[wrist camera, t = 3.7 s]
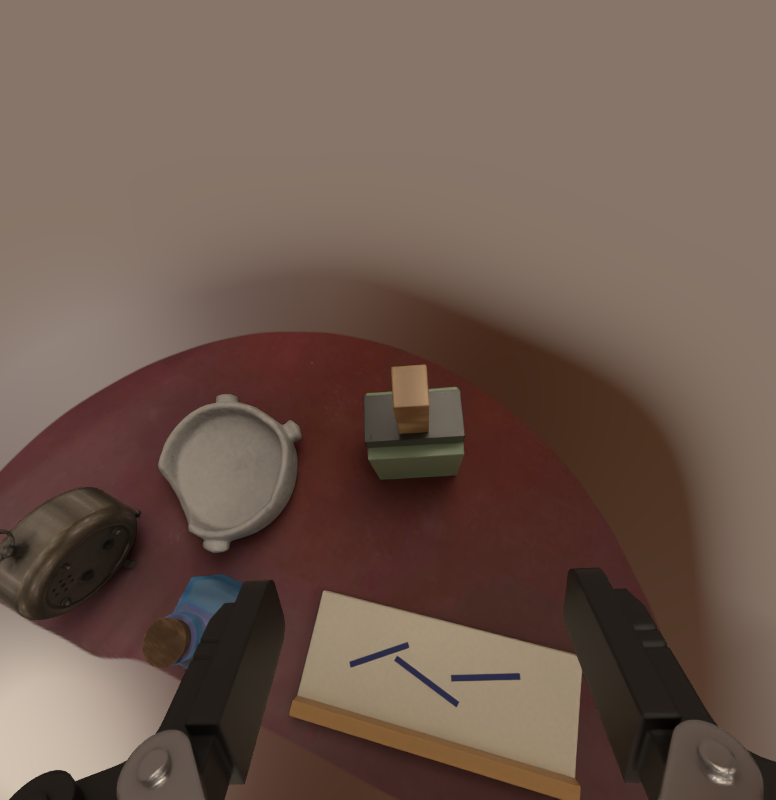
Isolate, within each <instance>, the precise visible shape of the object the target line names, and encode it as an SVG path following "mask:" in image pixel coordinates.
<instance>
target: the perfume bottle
mask: <svg viewBox="0 0 776 800" xmlns="http://www.w3.org/2000/svg"><path fill="white" fill-rule="evenodd" d="M242 585H243V583H240V582H238V581H236V580H234V579H232V578H230V577H228V576H226V575H224V574H220V575H209V576H198V577H192V578H191V580H190V582H189V583H188V585H187V587H186V589H185V591H184V593H183V594H182V596H181V598H180V600H179V602H178V604H177V606H176V608H175V610H174V612H173V614H171V615H169V616H167V617H165V618H163V619H160V620H158V621H156V622H155V623H154V624H153V625H151V626H150V628H149V629H148V631H147V632H146V635H145V637H144V640H143V653H144V657H145V658H146V660H147V662H148V663H149V664H151V665H152V666H154V667H157V668H165V667H168V666H175V665H180V666H182V667H183V668H185V669H187V668H188V666H189V663H190V661H191V660H193V655H194V652H195V650H196V648H197V646H198V644H200V641H201V640H200V639H201V637H202V635H203V633H204V631H205V628H206V626H207V624H208V622H209V620H210V619H211V618H212V617H213V615H214V614H215V613H216V612H217V611H218V610H219V609H220V607H221V606H222V605H223V604H224V603H235V601H236V598H237V596H238V593H239V591H240V589H241V586H242Z"/></svg>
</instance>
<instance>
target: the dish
mask: <svg viewBox="0 0 776 800" xmlns="http://www.w3.org/2000/svg"><path fill="white" fill-rule="evenodd" d="M301 438H302V435H301V432H300V427H299V426H298V425H297V424H295V423H294V422H293V421H291V420H289V421H288V422H287V423H286V424H284V425H281V424H280V423H278V422H277V421H276V420H275V419H273V418H272V417H270V416H269V415H268V414H266V413H265V412H263V411H261V410H260V409H258V408H255V407H253V406H250V405H247V404H243V403H239V402H238V397H236V396H234V395H230V394H224V395H219V396H217V397H216V403H213V404H209V405H206V406H203V407H200V408H198V409H197V410H195V411H193V412H192V413H191V414H189V415H188V416H187V417H185V418H184V419H183V420H182V421H181V422H180V423H179V424H178V425H177V427H176V428H175V429H174V430H173V431H172V433H171V434H170V436H169V437H168V439H167V440H166V442H165V444H164V447H163V450H162V453H161V456H160V459H159V463H158V468H159V470H160V472H161V474H162V475H163V476H164V477H165V478H166V480H167V481H168V482H169V483H170V485H171V487H172V488H173V490H174V491H175V493H176V495H177V497H178V499H179V501H180V503H181V506H182V508H183V510H184V513H185V515H186V518H187V521H188V525H189V526H188V528H189V531H190V532H191V533H193V534H194V535H196V536H198V537H200V538H202V539H203V540H204V543H203V547H204V548H205V549H206V550H208V551H210V552H212V553H219V552H224V551H227V550H228V549H229V548H230V542H231V541H233V540H236V539H240V538H243V537H246V536H249V535H252V534H254V533H256V532H258V531H260V530H262V529H263V528H265V527H266V526H268V525H269V524H270V523H271V522H272V521H274V520H275V519H276V518H277V516H278V515H279V514H280V513H281V512H282V511H283V509H284V508H285V506H286V505H287V503H288V501H289V499H290V497H291V495H292V493H293V490H294V487H295V482H296V477H297V466H298V464H297V453H296V449H295V446H294V442H296V441H299V440H301Z"/></svg>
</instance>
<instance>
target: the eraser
mask: <svg viewBox="0 0 776 800" xmlns="http://www.w3.org/2000/svg"><path fill="white" fill-rule="evenodd" d="M391 375H392V394H386V395H371V396H364V397H363V400H364V442H365V444H366V446H367V448H380V447H396V446H412V445H429V444H445V443H461V442H463V441H464V438H465V430H464V421H463V412H462V402H461V393H460V389H457V390H443V391H429V392H428V379H427V367H426V365H412V366H399V367H391Z"/></svg>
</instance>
